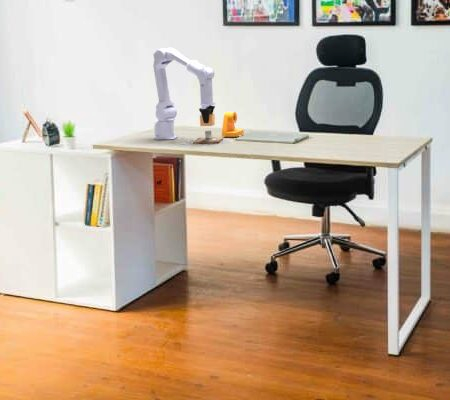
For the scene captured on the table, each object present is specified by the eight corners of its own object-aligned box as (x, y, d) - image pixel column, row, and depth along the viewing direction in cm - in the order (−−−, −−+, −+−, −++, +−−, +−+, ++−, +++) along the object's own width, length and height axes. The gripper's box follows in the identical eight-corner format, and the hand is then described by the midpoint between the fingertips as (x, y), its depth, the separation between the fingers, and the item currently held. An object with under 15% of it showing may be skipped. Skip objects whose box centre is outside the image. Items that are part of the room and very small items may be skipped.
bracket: (235, 138, 457) (234, 113, 454) (222, 137, 460) (221, 113, 457) (244, 134, 466) (243, 110, 463) (231, 134, 469) (230, 110, 466)
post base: (193, 143, 445) (193, 141, 445) (199, 139, 456) (199, 137, 456) (218, 143, 442) (218, 141, 442) (223, 139, 454) (223, 137, 454)
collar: (200, 126, 446) (199, 115, 444) (203, 124, 451) (202, 114, 450) (212, 126, 444) (211, 115, 443) (214, 124, 450) (214, 113, 449)
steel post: (204, 142, 448) (204, 131, 447) (206, 141, 451) (205, 130, 450) (210, 142, 448) (210, 131, 447) (212, 141, 451) (211, 130, 449)
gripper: (211, 95, 437) (212, 124, 440) (217, 91, 450) (219, 119, 453) (196, 95, 438) (198, 124, 441) (203, 92, 452) (204, 120, 455)
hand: (207, 122), depth 447 cm, fingers closed on collar, 6 cm apart
